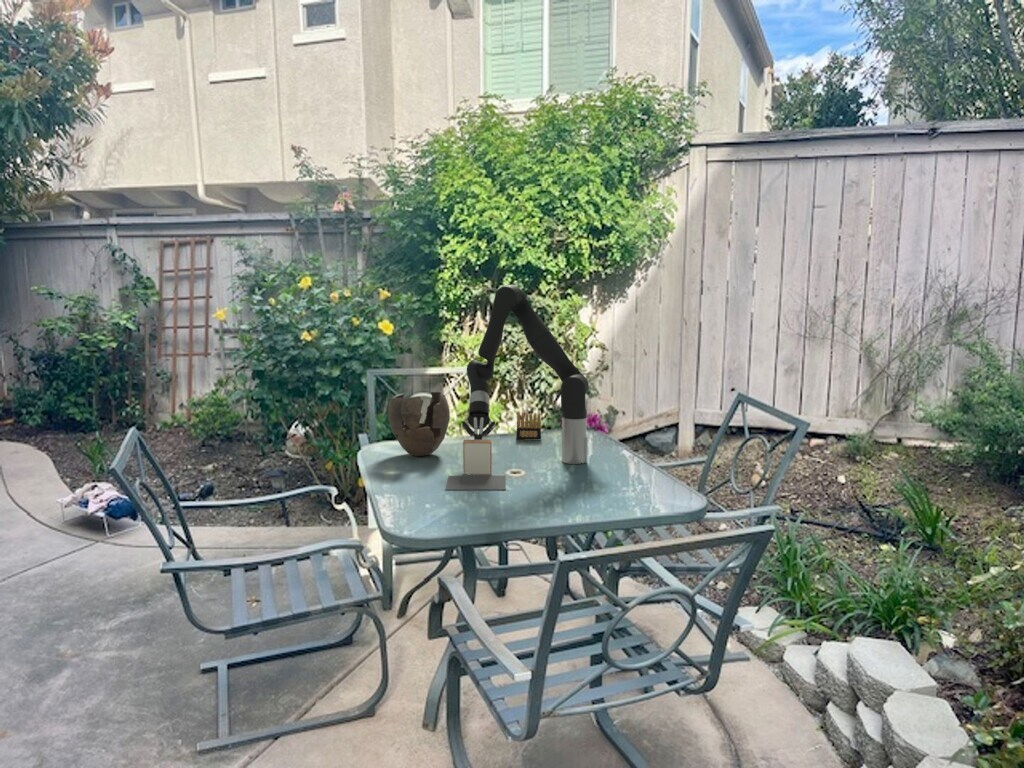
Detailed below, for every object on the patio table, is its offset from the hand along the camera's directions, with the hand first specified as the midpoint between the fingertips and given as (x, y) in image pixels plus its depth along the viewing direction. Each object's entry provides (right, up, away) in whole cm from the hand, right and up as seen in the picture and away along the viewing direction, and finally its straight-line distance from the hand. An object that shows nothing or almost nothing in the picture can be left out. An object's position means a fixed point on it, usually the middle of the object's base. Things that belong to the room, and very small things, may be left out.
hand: (478, 444), depth 258 cm
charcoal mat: (0, -12, -16) cm, 20 cm away
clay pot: (-24, -6, +21) cm, 33 cm away
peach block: (0, -10, -4) cm, 11 cm away
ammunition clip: (+19, -2, +47) cm, 51 cm away
